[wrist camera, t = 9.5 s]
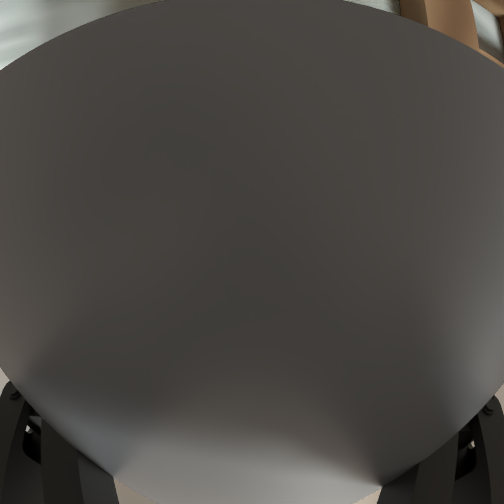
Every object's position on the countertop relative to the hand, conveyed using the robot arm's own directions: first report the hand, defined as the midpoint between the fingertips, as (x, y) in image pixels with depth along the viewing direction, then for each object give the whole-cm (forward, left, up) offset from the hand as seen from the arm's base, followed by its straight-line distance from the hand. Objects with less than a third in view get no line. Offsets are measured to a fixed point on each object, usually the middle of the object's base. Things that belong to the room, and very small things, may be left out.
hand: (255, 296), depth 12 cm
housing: (0, 0, -1) cm, 1 cm away
